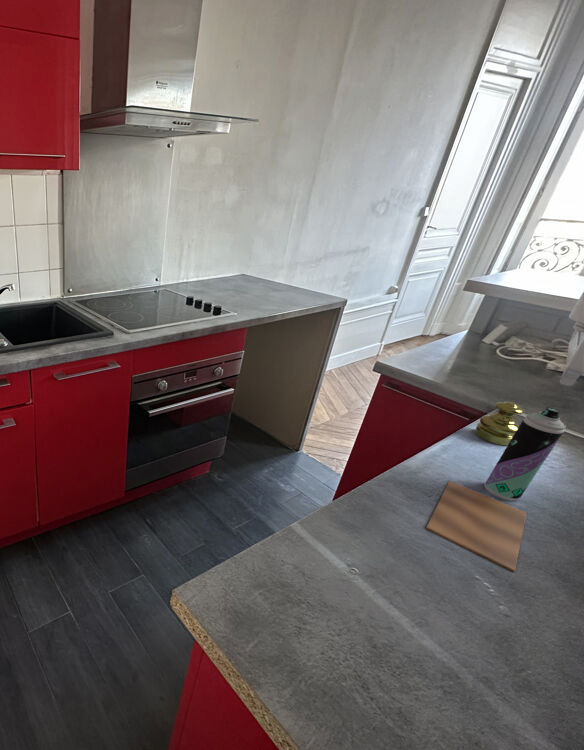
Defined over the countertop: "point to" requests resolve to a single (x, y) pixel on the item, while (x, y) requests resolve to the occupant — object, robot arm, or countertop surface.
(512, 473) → the spray can
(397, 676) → the countertop surface
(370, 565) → the countertop surface
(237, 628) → the countertop surface
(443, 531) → the wooden board
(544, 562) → the countertop surface
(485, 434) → the gold stacked rounded piece
